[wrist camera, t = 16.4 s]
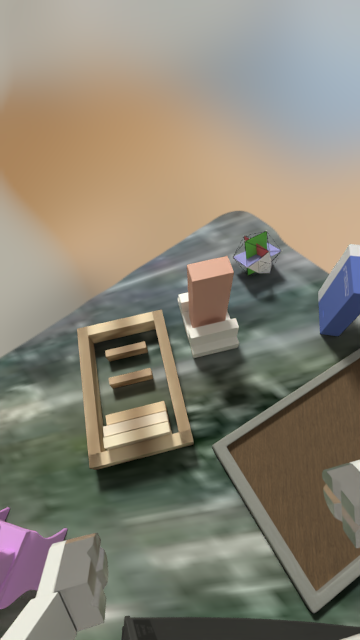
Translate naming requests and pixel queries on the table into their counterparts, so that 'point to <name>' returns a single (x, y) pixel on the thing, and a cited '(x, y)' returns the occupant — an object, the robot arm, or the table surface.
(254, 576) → the table surface
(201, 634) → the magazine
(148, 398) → the table surface
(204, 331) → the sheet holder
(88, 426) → the offcut rack
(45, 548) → the toy chair
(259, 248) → the geometric puzzle
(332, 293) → the walkman
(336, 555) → the framed brown board
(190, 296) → the salmon pink brick
